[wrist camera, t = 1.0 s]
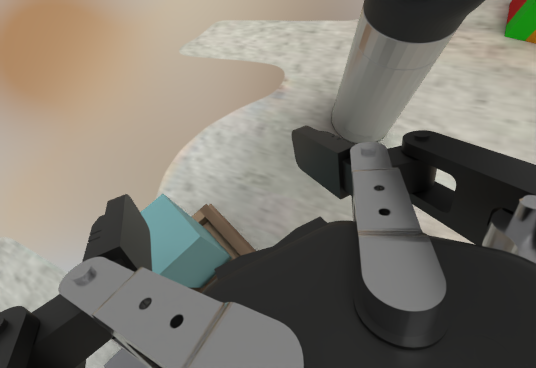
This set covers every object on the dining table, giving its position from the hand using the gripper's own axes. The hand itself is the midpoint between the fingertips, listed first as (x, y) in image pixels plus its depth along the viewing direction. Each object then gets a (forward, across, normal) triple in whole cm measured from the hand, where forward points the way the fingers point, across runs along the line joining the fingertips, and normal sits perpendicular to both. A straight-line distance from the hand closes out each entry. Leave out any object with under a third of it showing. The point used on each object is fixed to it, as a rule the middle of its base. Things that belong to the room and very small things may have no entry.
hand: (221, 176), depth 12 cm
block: (+14, +4, +18) cm, 23 cm away
